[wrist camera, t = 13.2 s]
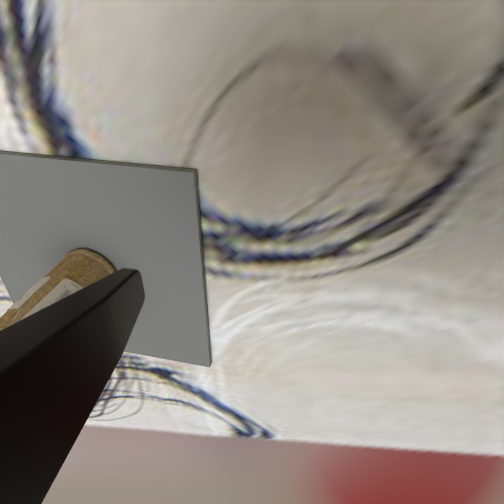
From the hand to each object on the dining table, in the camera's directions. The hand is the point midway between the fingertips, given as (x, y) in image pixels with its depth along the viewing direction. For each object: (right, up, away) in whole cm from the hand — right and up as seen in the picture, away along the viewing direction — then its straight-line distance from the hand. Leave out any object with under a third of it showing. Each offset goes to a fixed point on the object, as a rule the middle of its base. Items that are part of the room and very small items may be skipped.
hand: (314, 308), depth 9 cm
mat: (-14, 0, +20) cm, 24 cm away
